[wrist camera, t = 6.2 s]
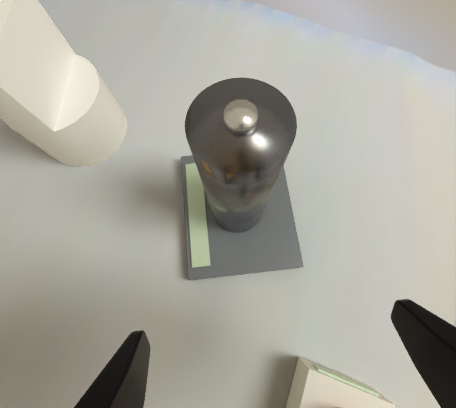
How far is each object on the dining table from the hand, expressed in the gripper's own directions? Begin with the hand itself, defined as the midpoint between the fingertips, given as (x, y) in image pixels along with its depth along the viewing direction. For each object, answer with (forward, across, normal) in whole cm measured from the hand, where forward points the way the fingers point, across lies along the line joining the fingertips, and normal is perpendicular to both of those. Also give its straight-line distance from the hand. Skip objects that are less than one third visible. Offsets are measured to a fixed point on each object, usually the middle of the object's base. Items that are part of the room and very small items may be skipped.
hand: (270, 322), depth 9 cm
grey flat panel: (+15, 0, +4) cm, 16 cm away
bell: (+14, 0, +3) cm, 15 cm away
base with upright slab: (+24, +16, -4) cm, 28 cm away
